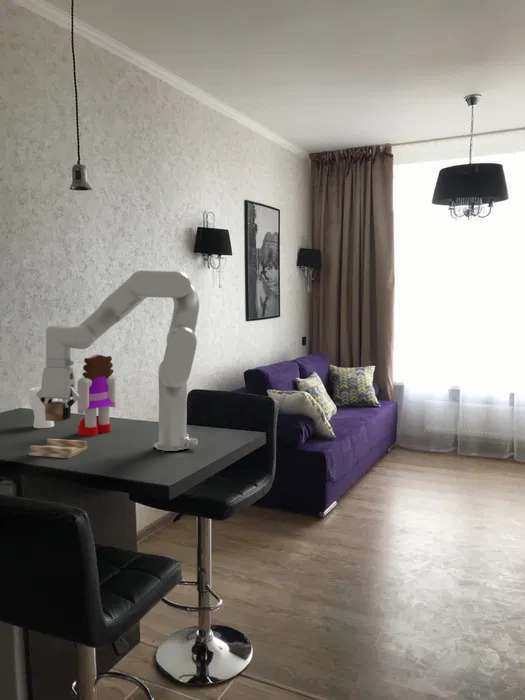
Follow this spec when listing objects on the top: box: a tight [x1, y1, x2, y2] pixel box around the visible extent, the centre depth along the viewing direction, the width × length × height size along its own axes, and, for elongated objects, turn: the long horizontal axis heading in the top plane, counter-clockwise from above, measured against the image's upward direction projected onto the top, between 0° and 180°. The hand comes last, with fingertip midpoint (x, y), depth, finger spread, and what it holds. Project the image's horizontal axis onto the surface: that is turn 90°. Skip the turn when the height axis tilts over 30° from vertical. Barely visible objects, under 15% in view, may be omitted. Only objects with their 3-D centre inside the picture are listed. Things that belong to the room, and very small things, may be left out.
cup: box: [28, 387, 59, 429], centre depth 224 cm, size 11×11×15 cm
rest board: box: [28, 438, 88, 459], centre depth 187 cm, size 14×12×3 cm
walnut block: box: [46, 400, 71, 423], centre depth 186 cm, size 6×6×6 cm
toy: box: [76, 353, 116, 437], centre depth 215 cm, size 18×9×30 cm, turn 149°
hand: (57, 417), depth 186 cm, fingers closed on walnut block, 5 cm apart
